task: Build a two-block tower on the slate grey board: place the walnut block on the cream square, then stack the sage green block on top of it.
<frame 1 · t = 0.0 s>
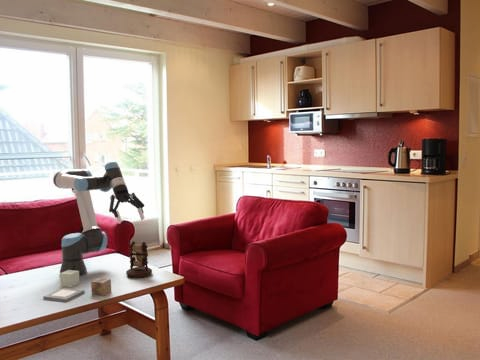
hand: (131, 220, 250), 36 cm above the table, tool tilted 35°, fingers open, 13 cm apart
brown upright round-based piece: (139, 275, 274), on the table
sage block: (70, 284, 258), on the table
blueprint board: (64, 295, 239), on the table
walnut block: (101, 293, 242), on the table
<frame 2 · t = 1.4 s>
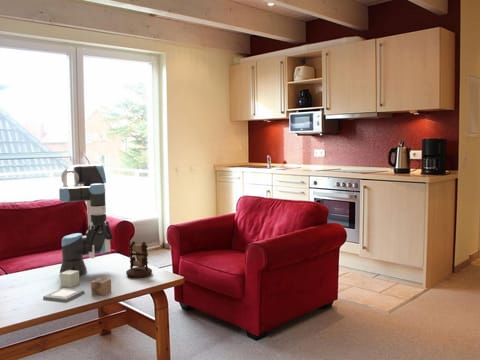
hand: (100, 254, 240), 20 cm above the table, tool pointing down, fingers open, 13 cm apart
nothing on the table moved.
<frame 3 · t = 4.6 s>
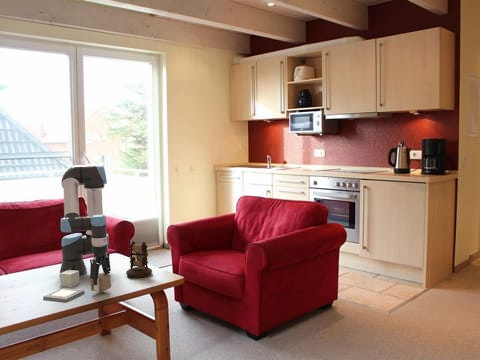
hand: (101, 288, 242), 3 cm above the table, tool pointing down, fingers closed on walnut block, 7 cm apart
walnut block: (101, 289, 242), point 2 cm above the table, touching gripper
everything else where it was.
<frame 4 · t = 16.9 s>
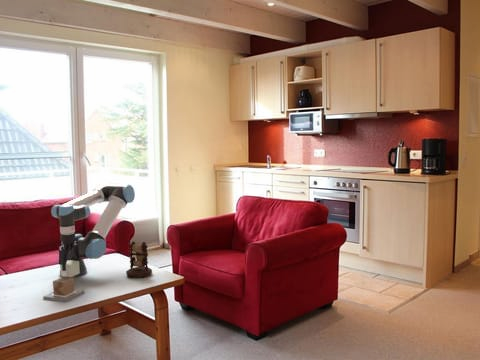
hand: (70, 274, 258), 6 cm above the table, tool pointing down, fingers closed on sage block, 7 cm apart
sage block: (70, 274, 258), point 5 cm above the table, touching gripper
walnut block: (64, 293, 239), point 1 cm above the table, touching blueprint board
everything else where it was.
when the fingers open (10 cm above the table, at t = 21.4 s): sage block stays where it is, resting on walnut block.
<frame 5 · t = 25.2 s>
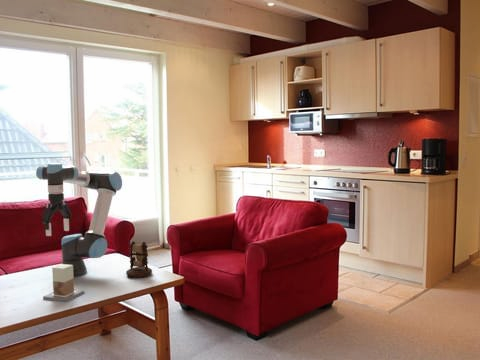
hand: (57, 233, 245), 31 cm above the table, tool pointing down, fingers open, 13 cm apart
sage block: (63, 279, 238), point 8 cm above the table, touching walnut block
walnut block: (64, 293, 239), point 1 cm above the table, touching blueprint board, sage block
everything else where it was.
at the end: walnut block 0.1 cm off-centre on the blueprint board, point 1.5 cm above the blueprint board's base; sage block 0.0 cm off-centre on the walnut block, point 7.0 cm above the walnut block's base; sage block tilted 0° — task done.
